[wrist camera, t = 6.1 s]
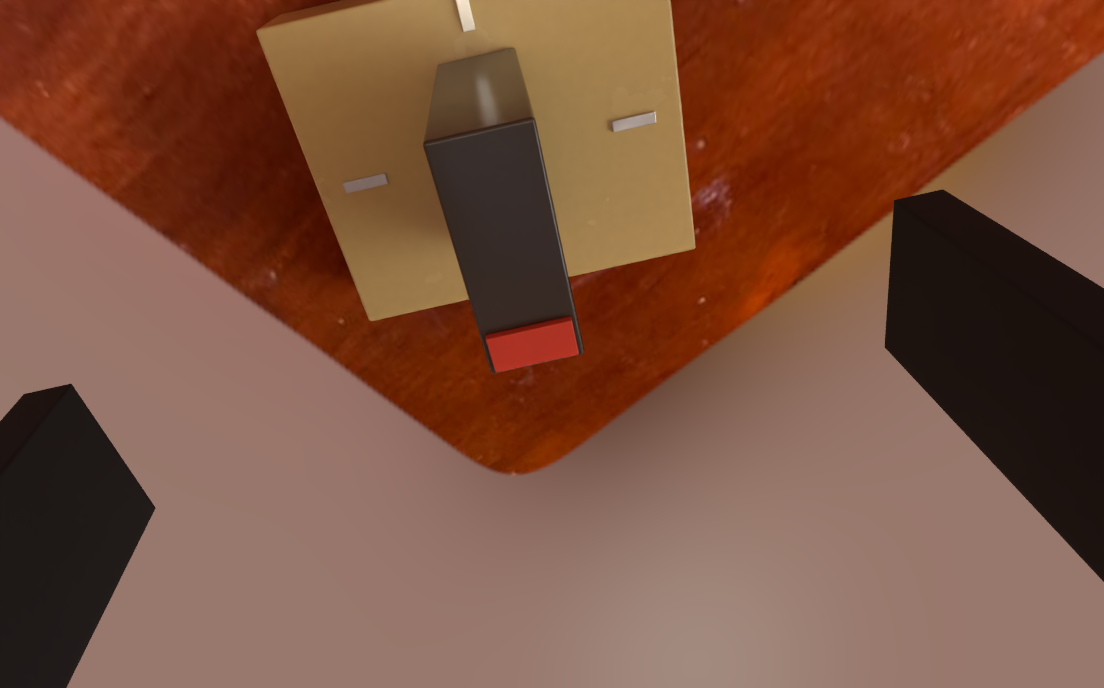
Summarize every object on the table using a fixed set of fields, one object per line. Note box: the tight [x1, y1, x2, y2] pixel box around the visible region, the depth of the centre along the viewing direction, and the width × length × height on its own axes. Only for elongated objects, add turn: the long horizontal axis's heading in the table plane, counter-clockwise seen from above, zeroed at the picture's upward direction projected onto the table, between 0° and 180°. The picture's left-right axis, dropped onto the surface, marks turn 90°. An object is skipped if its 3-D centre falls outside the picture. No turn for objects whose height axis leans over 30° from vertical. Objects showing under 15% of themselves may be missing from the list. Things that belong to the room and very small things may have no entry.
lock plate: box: [256, 0, 696, 321], centre depth 25 cm, size 12×10×3 cm
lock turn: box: [423, 47, 584, 374], centre depth 20 cm, size 6×2×8 cm, turn 11°
